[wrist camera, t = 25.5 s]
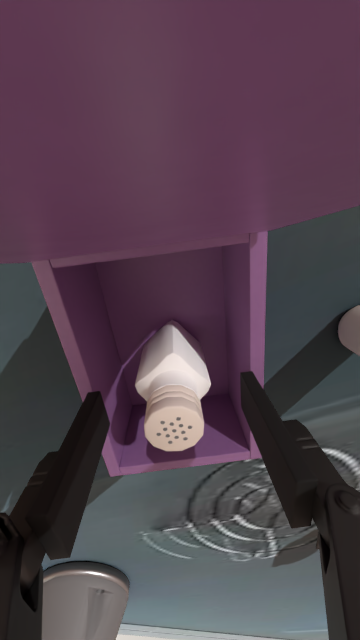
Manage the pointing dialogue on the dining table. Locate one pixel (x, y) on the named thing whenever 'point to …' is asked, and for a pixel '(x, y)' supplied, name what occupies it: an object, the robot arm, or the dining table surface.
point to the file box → (148, 318)
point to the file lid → (173, 120)
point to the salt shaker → (173, 388)
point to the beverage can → (350, 330)
